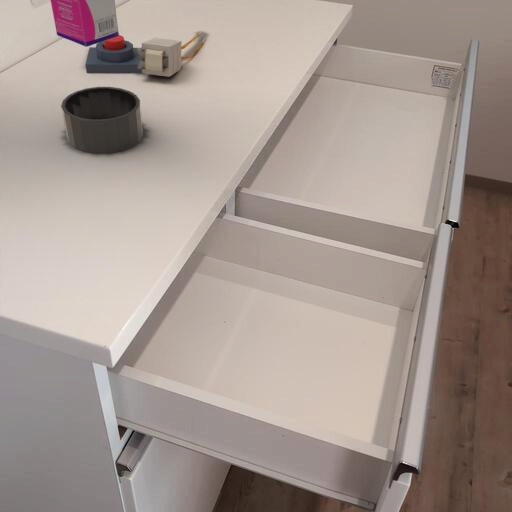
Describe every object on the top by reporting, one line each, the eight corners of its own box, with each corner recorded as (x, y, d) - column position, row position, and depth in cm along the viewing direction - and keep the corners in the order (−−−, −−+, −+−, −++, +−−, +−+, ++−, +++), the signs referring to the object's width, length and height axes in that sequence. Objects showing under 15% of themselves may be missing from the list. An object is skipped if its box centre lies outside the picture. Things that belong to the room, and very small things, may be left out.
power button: (103, 51, 97) (102, 41, 96) (105, 44, 100) (104, 34, 99) (124, 51, 98) (123, 41, 96) (125, 44, 100) (124, 34, 99)
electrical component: (179, 51, 115) (180, 26, 113) (207, 55, 115) (208, 30, 112) (137, 73, 95) (136, 43, 92) (170, 78, 94) (170, 48, 91)
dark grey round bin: (64, 160, 75) (56, 121, 71) (73, 124, 83) (66, 86, 79) (142, 159, 77) (139, 120, 73) (143, 123, 85) (140, 86, 81)
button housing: (86, 73, 97) (83, 54, 95) (90, 56, 103) (88, 37, 101) (143, 73, 98) (142, 54, 96) (144, 56, 104) (143, 38, 102)
